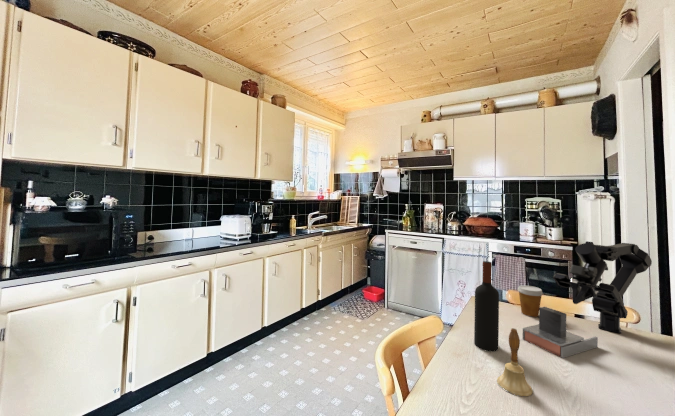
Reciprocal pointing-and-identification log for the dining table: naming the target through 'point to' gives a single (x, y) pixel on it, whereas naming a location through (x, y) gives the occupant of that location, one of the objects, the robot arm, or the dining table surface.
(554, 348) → the grey box tray
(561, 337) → the lid
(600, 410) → the dining table surface
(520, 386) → the hand bell
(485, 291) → the wine bottle
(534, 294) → the disposable coffee cup
